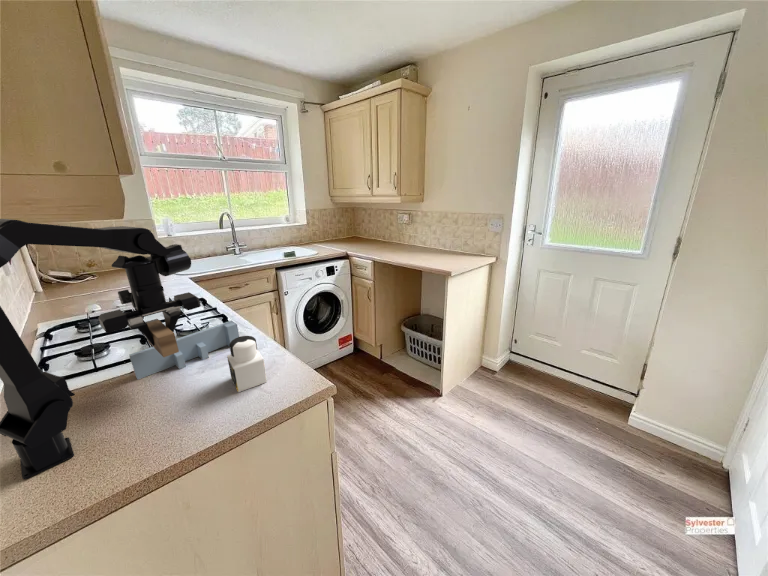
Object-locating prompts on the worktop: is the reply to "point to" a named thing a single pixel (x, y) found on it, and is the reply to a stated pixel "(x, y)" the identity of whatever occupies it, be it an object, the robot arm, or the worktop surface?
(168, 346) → the brown wooden block
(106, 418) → the worktop surface
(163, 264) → the robot arm
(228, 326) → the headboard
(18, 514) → the worktop surface
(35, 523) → the worktop surface
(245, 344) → the medicine bottle
